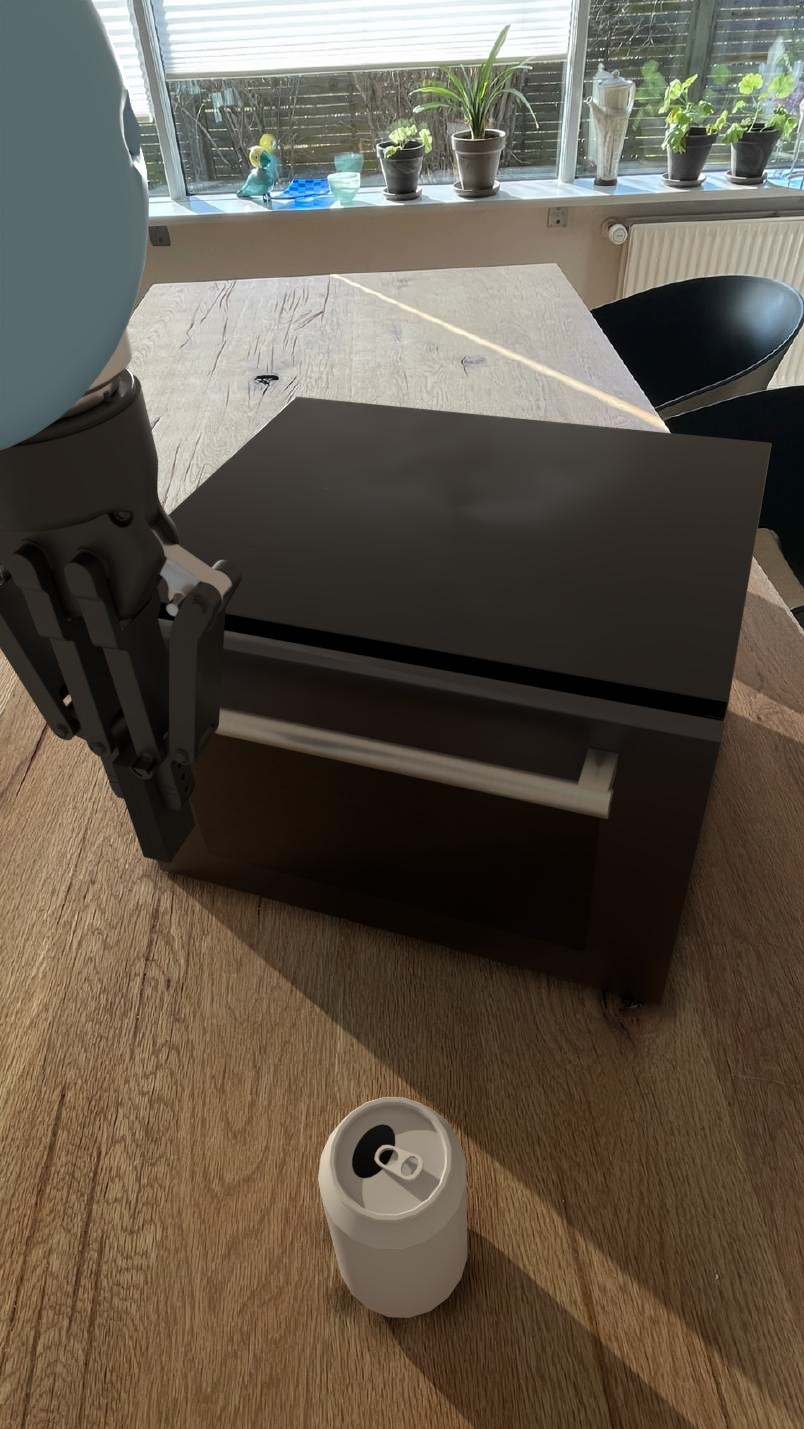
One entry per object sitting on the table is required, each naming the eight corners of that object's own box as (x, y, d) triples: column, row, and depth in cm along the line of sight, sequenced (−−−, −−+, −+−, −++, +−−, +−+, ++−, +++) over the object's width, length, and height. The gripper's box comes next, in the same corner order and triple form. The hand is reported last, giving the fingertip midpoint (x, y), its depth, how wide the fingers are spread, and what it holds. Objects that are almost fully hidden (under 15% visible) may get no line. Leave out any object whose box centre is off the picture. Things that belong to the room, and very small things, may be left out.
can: (380, 1160, 58) (365, 1058, 51) (490, 1222, 55) (492, 1123, 48) (312, 1277, 54) (284, 1185, 46) (428, 1352, 51) (419, 1267, 43)
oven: (665, 985, 67) (729, 701, 50) (171, 854, 78) (87, 589, 61) (715, 703, 89) (771, 442, 72) (326, 634, 101) (295, 396, 84)
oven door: (652, 1056, 63) (713, 795, 45) (135, 907, 74) (24, 654, 57) (665, 986, 66) (725, 720, 49) (169, 855, 78) (75, 602, 61)
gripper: (244, 359, 34) (316, 814, 49) (-53, 336, 37) (100, 767, 53) (134, 449, 29) (253, 928, 44) (-199, 412, 32) (18, 867, 47)
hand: (170, 840), depth 48 cm, fingers closed
